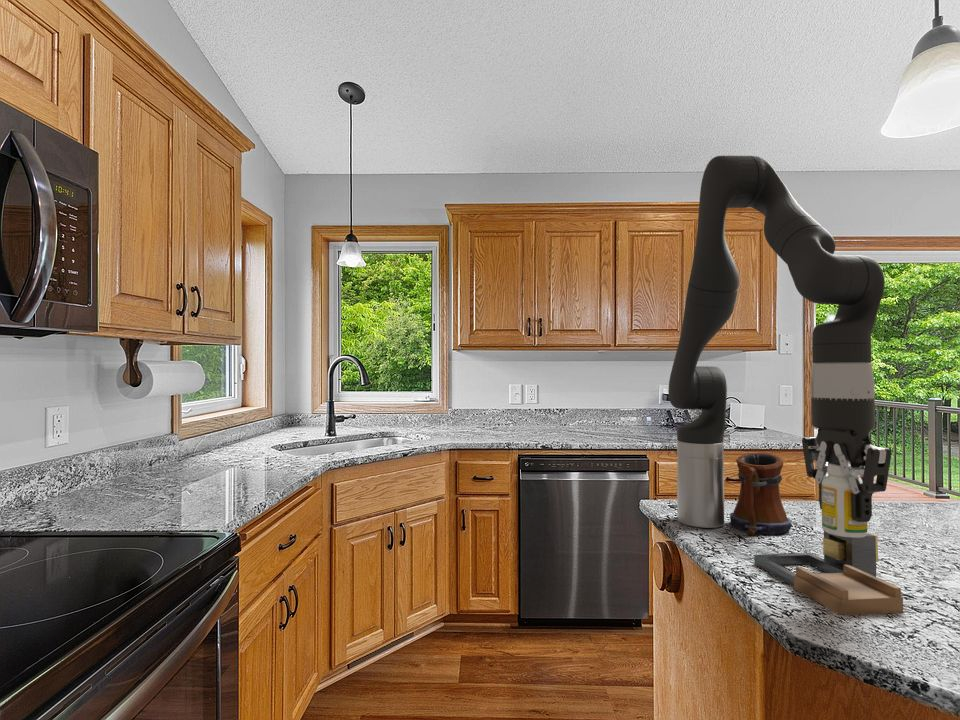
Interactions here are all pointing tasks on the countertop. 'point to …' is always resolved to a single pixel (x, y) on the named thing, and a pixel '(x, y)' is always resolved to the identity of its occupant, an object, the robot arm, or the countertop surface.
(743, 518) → the mug
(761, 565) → the socket collar
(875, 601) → the wooden tray
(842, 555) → the tan boxy piece
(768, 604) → the countertop surface
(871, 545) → the block
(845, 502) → the supplement bottle
